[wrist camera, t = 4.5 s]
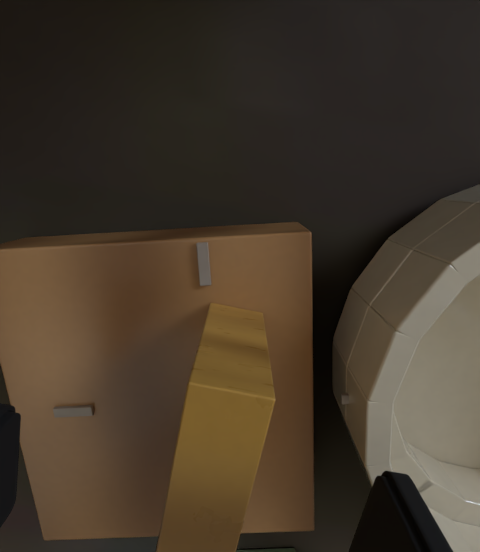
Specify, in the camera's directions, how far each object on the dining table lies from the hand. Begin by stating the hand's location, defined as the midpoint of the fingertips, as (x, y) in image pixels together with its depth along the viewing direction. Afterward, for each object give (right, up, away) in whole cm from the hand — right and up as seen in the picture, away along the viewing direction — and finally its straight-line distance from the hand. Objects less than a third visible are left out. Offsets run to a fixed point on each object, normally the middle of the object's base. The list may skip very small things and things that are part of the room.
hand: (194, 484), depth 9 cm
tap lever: (0, +1, +4) cm, 4 cm away
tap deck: (-1, +2, +7) cm, 7 cm away
